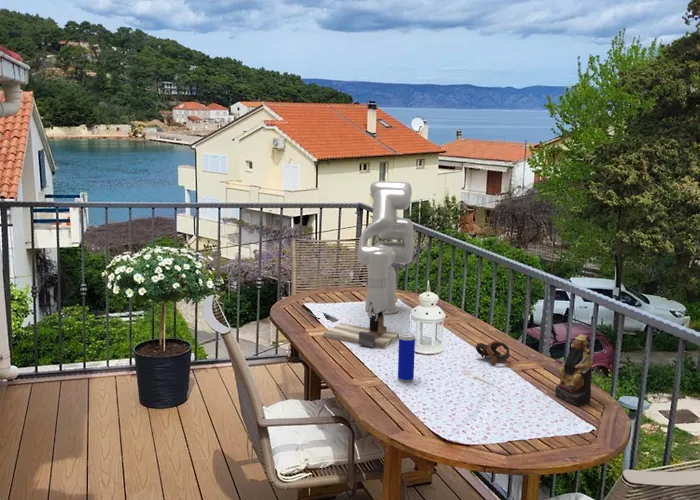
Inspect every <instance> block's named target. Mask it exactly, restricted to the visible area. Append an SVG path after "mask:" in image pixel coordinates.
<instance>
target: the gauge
mask: <svg viewBox="0 0 700 500" xmlns="http://www.w3.org/2000/svg"><path fill="white" fill-rule="evenodd" d="M373 315H374V316H375V314H373ZM384 318H385V316H384V317H381V316H378V317H377V321H378V331H372V330H370V331H369V332H362V331H360V332H359V344H358V345H360V346H364V347H369V348H375V347H374V346H375V338H377V337H379V336H380V335H382V334H383V333H385V332H388V331H387V329H388V328H387V326H385V324H384V322H385V321H384V320H385V319H384Z"/></svg>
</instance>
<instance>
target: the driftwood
mask: <svg viewBox="0 0 700 500" xmlns="http://www.w3.org/2000/svg"><path fill="white" fill-rule="evenodd" d="M302 312H303V313H305V314H308V315H309V316H312V317H314V318H316V317H315V316H316V315H315V314H314V313H311V312H309V311H306V309H302ZM322 313H323V314H324V316H325V318H326V319H327V320H330V321H332V322H331V323H333V322H335V321H339V319H338V318H337V317H335V316H333V315H330V314H327V313H326V312H322ZM314 315H315V316H314Z"/></svg>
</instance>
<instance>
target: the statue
mask: <svg viewBox="0 0 700 500" xmlns="http://www.w3.org/2000/svg"><path fill="white" fill-rule="evenodd" d="M589 339H590V338H589V336H588V335H585V334H582V333H578V335H577V336H575V337H574V341H573V343H571V344H570V347H571V348H570V350H569V353H568V354H567V357H566V358H565V360H564V361H562V362H561V363H560V367H559V368H558V373H559V377H560V378H559V381H560V382H559V384H557V385H556V386H555V392H554V393H555V397H557V398H559V399H560V400H562V401H564V402H565V403H568V404H570V405H572V406H575V407H581V406H586V405H585V404H588V405H590V404H589V403H591V400H592V375H593V373H592V372H593V365H592V358H591V350H590V349H589V346H590V342H589Z"/></svg>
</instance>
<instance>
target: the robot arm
mask: <svg viewBox="0 0 700 500" xmlns="http://www.w3.org/2000/svg"><path fill="white" fill-rule="evenodd" d="M369 189H370V190H369V191H370V195H371V196H372V199H373V204H372V205H373V206H372V218H371V223H370V224H368V225H367V226H366V227H365V229H364V230H362V233H361V235H360V237H359V241H358V249H357V260H358V262H359V263H360V264H361V265H363V266H367V290H366V295H365V296H366V297H365V313H367V317H368V320H369V328H370V330H372V331H378V321H377V317H378V316H381V317H384V318H385V315H390V314H396V313H398V312H399V307H398V306H396V303H398V299H397V298H396V293H397V292H396V289H397V272H396V269H395V268H394V267H393V264H404V265H405V264H410V263H411V262H412V261H413V256H414V224H413V221H412V220H411V219H409V218H405V217H397V214H398V213H397V210H398V211H400V210H401V211H402V210H403V211H404V210H405V211H406V210H407V209H409V208H410V204H411V201H412V193H413V192H412V185H411V184H410V182H407V181H388V180H387V181H386V180H385V181H383V180H381V181H375V182H372V183H371V184H370V187H369ZM376 235H377V236H378V238H380V239H383V240H384V241H382V240H381V241H378V242H376V243H375V244H374V245H367V243H368V241H369V239H370V238H372V237H375V236H376ZM385 240H386V241H385ZM389 240H394V241H389ZM395 240H397V241H395ZM398 240H399V241H398ZM400 240H401V241H400ZM374 315H375V316H374Z"/></svg>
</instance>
